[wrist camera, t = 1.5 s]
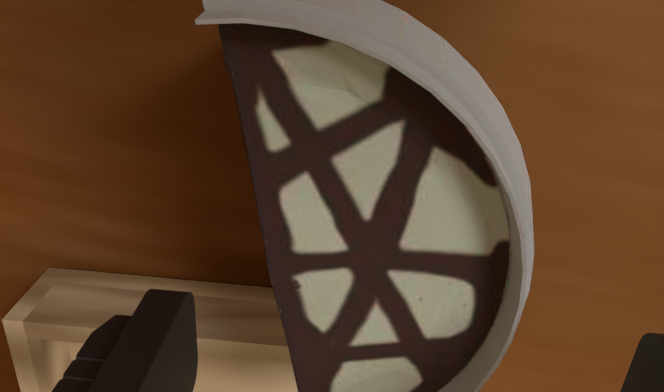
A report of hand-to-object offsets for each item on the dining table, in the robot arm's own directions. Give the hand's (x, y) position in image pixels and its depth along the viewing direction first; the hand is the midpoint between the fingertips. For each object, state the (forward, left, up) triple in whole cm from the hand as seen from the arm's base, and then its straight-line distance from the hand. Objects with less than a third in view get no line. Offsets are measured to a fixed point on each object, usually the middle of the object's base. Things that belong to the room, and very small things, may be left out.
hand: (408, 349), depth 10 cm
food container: (0, 0, -12) cm, 12 cm away
